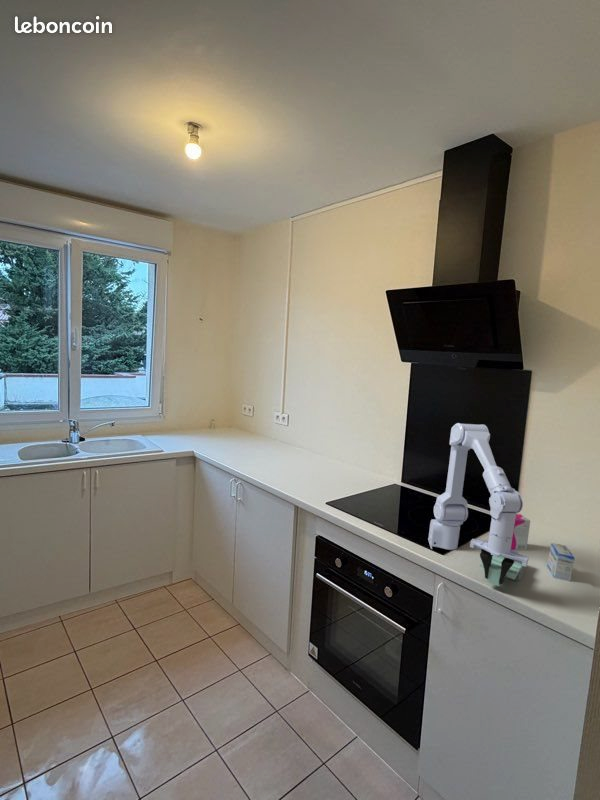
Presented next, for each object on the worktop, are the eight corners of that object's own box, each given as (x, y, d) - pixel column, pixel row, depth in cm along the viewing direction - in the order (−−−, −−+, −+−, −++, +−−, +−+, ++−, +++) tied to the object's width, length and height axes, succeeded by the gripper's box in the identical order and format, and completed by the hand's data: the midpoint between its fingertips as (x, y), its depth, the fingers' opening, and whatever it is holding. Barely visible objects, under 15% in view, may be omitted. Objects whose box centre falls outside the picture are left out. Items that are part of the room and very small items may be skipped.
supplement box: (516, 544, 147) (521, 513, 146) (526, 552, 141) (531, 520, 140) (501, 543, 147) (505, 512, 146) (510, 551, 141) (514, 519, 140)
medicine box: (546, 567, 132) (550, 542, 131) (562, 571, 131) (566, 545, 130) (553, 580, 125) (558, 553, 123) (570, 584, 123) (575, 556, 122)
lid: (475, 577, 118) (477, 562, 117) (489, 559, 129) (491, 546, 128) (510, 591, 112) (513, 575, 111) (522, 571, 123) (524, 557, 123)
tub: (485, 571, 126) (487, 558, 126) (495, 559, 135) (497, 546, 134) (518, 584, 121) (520, 569, 120) (525, 570, 129) (528, 557, 129)
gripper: (469, 529, 115) (463, 574, 117) (527, 548, 106) (519, 597, 108) (477, 522, 121) (470, 565, 122) (532, 539, 112) (525, 586, 113)
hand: (494, 579), depth 115 cm, fingers closed on lid, 3 cm apart
